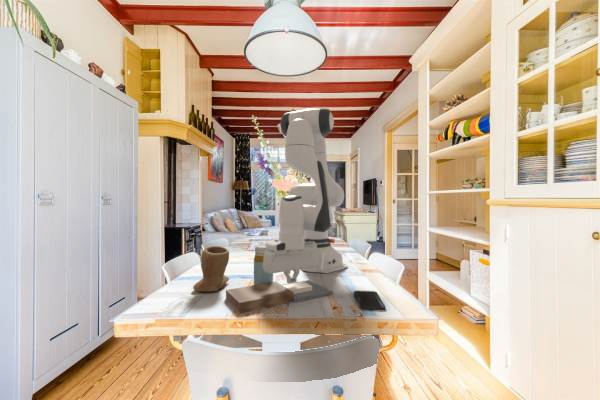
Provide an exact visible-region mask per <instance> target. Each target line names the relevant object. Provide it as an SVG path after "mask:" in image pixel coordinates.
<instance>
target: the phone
mask: <svg viewBox="0 0 600 400" xmlns="http://www.w3.org/2000/svg"><path fill="white" fill-rule="evenodd" d="M353 295H354V296H353V297H354V298H355V300H357V301H356V303H357V305H358V306H357V307H358V309H359V308H360V309H361V311H372V310H385V309H386V305H385V303H384V302H383V301H382V298H381V297H380V295H379V293H378V292H377V291H374V290H354V292H353ZM360 309H359V310H360ZM385 311H386V310H385Z"/></svg>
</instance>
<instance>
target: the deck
mask: <svg viewBox="0 0 600 400" xmlns="http://www.w3.org/2000/svg"><path fill="white" fill-rule="evenodd" d="M282 285H283V284H281V283H279V282H277V281H273V282H270V283H264V284H258V285H254V284H252V285H247V286H240V287H236V288H229V289H225V300H226V301H227V302H228V303H229V304H230V305H231V306H232V307H233V308H234V309H235V310H236V311H237V312H238V313H239V314H242V313H247V312H251V311H255V310H257V311H258V310H260V309H265V308H269V307H274V306H278V305H279V306H280V305H284V304H287V303H292V302H294V292H293V291H291V290H289V289H287V288H286V287H284V286H282Z"/></svg>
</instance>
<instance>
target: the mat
mask: <svg viewBox="0 0 600 400" xmlns="http://www.w3.org/2000/svg"><path fill="white" fill-rule="evenodd" d="M298 282H299V281H297V282H295V283H298ZM300 282H305V283H307V284H309V285H311V286H312V291H307V292H302V293H297V294H294V301H293V302H294V303H298V302H303V301H308V300H312V299H317V298H323V297H325V296H330V295H333V294H334V291H333V290H331V289H329V288H327V287H326V286H325V287H324V286H323V285H320V284H319V283H316V282H314V281H312V280H310V279H307V280H303V281H302V280H301V281H300ZM287 284H288V283H284V284H283V285H287ZM289 284H292V283H289Z"/></svg>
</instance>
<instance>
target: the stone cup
mask: <svg viewBox="0 0 600 400" xmlns="http://www.w3.org/2000/svg"><path fill="white" fill-rule="evenodd" d="M229 260H230V251H229V249H228V248H226V247H223V246H220V245H219V246H218V245H213V246H212V245H211V246H207V247H205V248H204V249H203V250H202V253H201V259H200V267H201V272H202V278H201V279H200V280H199V281H198V282H196V283H195V284H194V285H193V287H192V289H194V290H195V291H198V292H204V293H205V292H208V293H209V292H216V291H218V290H220V289H221V288H222V287H223V286H225V284H226V283H228V282H229V280H230V278H229V277H228V276H227V275H225V272H226V268H227V267H228V264H229Z"/></svg>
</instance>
